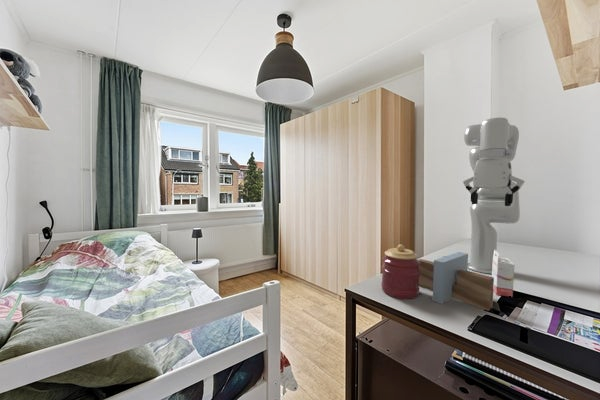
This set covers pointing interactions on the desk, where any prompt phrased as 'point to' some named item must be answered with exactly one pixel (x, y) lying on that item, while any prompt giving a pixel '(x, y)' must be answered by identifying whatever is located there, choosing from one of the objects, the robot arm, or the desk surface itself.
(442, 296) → the cross piece
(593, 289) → the desk surface
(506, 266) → the ink cartridge box
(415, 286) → the canister
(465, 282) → the slotted board
